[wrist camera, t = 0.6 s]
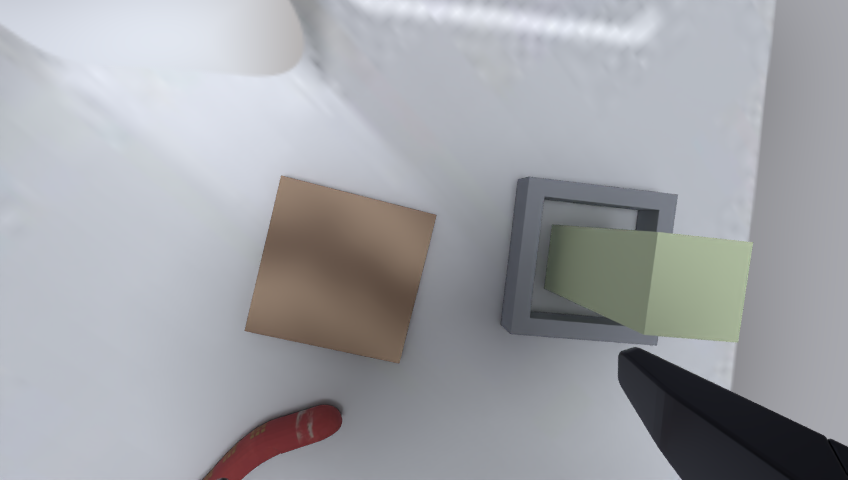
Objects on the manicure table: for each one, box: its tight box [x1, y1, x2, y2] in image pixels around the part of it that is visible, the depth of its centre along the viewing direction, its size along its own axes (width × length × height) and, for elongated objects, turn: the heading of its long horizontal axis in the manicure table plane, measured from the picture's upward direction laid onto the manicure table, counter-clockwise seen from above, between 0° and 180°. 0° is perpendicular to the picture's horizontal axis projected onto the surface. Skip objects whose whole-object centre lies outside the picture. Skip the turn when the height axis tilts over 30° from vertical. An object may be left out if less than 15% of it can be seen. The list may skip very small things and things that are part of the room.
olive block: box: [544, 225, 753, 342], centre depth 21 cm, size 4×4×10 cm
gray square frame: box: [501, 177, 678, 346], centre depth 25 cm, size 9×9×2 cm
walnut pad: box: [245, 176, 436, 363], centre depth 24 cm, size 9×9×1 cm
